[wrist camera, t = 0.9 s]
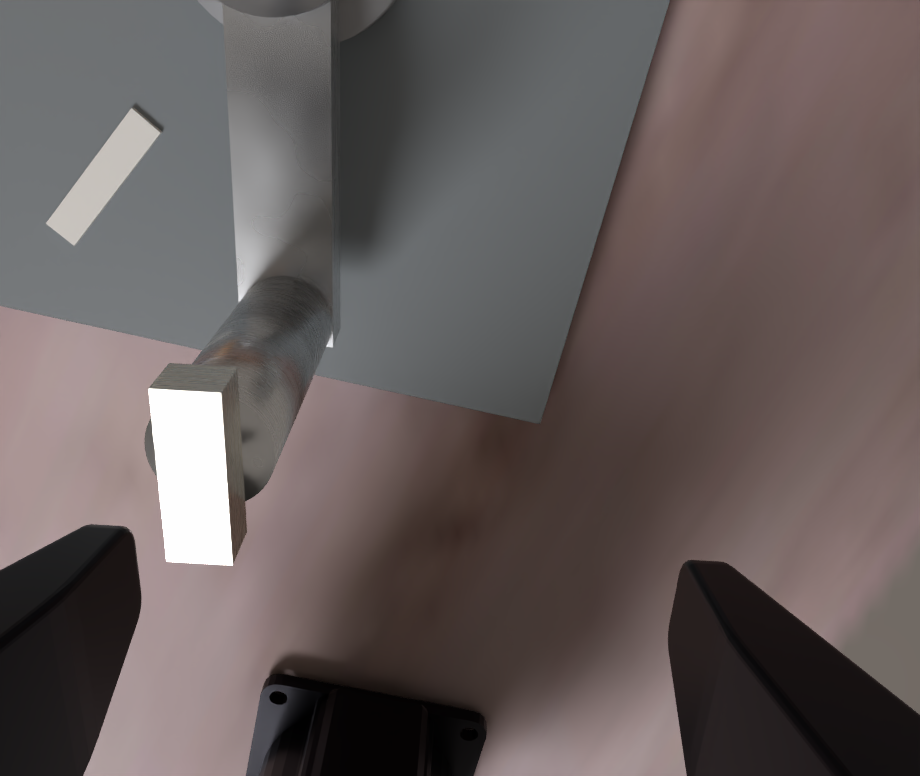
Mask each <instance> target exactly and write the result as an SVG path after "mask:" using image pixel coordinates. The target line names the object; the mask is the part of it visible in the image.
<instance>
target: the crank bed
mask: <svg viewBox="0 0 920 776" xmlns="http://www.w3.org/2000/svg"><path fill="white" fill-rule="evenodd" d="M669 2H670V0H339V4H340V331H339V334H338V336H337V339H336V341H335V344H334V346H333V347H326V349H325V351H324V353H323V356H322V358H321V360H320V363H319V365H318V367H317V370H316V372H315V375H318V376H322V377H327V378H332V379H336V380H341V381H345V382H350V383H354V384H359V385H363V386H368V387H373V388H377V389H382V390H386V391H391V392H395V393H400V394H404V395H409V396H414V397H418V398H423V399H427V400H432V401H436V402H441V403H445V404H450V405H455V406H459V407H464V408H468V409H473V410H477V411H482V412H487V413H491V414H496V415H500V416H505V417H509V418H514V419H518V420H523V421H528V422H532V423H537V424H540V422H541V419H542V416H543V413H544V409H545V406H546V403H547V400H548V396H549V393H550V390H551V387H552V383H553V380H554V377H555V373H556V370H557V367H558V364H559V360H560V357H561V354H562V351H563V347H564V344H565V341H566V338H567V334H568V331H569V328H570V325H571V321H572V318H573V315H574V312H575V308H576V305H577V302H578V298H579V295H580V292H581V289H582V285H583V282H584V279H585V276H586V272H587V269H588V266H589V263H590V259H591V256H592V253H593V250H594V246H595V243H596V240H597V237H598V233H599V230H600V227H601V223H602V220H603V217H604V214H605V210H606V207H607V204H608V201H609V197H610V194H611V191H612V188H613V184H614V181H615V178H616V175H617V171H618V168H619V165H620V162H621V158H622V155H623V152H624V148H625V145H626V142H627V139H628V135H629V132H630V129H631V126H632V122H633V119H634V116H635V113H636V109H637V106H638V103H639V100H640V96H641V93H642V90H643V87H644V83H645V80H646V77H647V73H648V70H649V67H650V64H651V60H652V57H653V54H654V51H655V47H656V44H657V41H658V38H659V34H660V31H661V28H662V25H663V21H664V18H665V15H666V12H667V8H668V5H669ZM238 303H239V300H238V282H237V263H236V245H235V227H234V209H233V190H232V172H231V154H230V136H229V117H228V99H227V81H226V63H225V44H224V26H223V8H222V3H221V2H219V1H218V0H0V306H3V307H8V308H12V309H17V310H21V311H26V312H31V313H35V314H40V315H44V316H49V317H53V318H58V319H63V320H67V321H72V322H76V323H81V324H85V325H90V326H94V327H99V328H104V329H108V330H113V331H117V332H122V333H126V334H131V335H135V336H140V337H145V338H149V339H154V340H158V341H163V342H167V343H172V344H176V345H181V346H186V347H190V348H195V349H199V350H203V349H204V348H205V346H206V345H207V344H208V343H209V341H210V340H211V339H212V337H213V336H214V335H215V333H216V332H217V331H218V329H219V328H220V327H221V326H222V324H223V323H224V322H225V320H226V319H227V318H228V316H229V315H230V314H231V312H232V311H233V310H234V309H235V307H236V306H237V305H238Z"/></svg>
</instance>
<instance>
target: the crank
mask: <svg viewBox="0 0 920 776" xmlns="http://www.w3.org/2000/svg"><path fill="white" fill-rule="evenodd" d="M218 1H219V2H221V3H222V8H223V26H224V44H225V63H226V81H227V99H228V117H229V136H230V154H231V172H232V190H233V209H234V227H235V245H236V263H237V282H238V300H239V303H238V305H237V306H236V307H235V309H234V310H233V311H232V312H231V314H230V315H229V316H228V318H227V319H226V320H225V322H224V323H223V324H222V326H221V327H220V328H219V329H218V331H217V332H216V333H215V335H214V336H213V337H212V339H211V340H210V341H209V343H208V344H207V345H206V346H205V348H204V349H203V350H202V352H201V353H200V354H199V356H198V357H197V358H196V360H195V361H194V362H193V363H192V365H191V364H174V363H169V364H168V365H167V367H166V368H165V369H164V370H163V372H162V373H161V374H160V375H159V376H158V378H157V379H156V380H155V381H154V382H153V384H152V385H151V386H150V387H149V388H148V390H149V399H150V409H151V419H150V421H149V423H148V426H147V429H146V433H145V451H146V456H147V459H148V462H149V464H150V466H151V468H152V470H153V472H154V473H155V475H156V476H157V477H158V485H159V494H160V504H161V513H162V523H163V532H164V542H165V551H166V561H167V562H184V563H201V564H218V565H233V563H234V561H235V559H236V556H237V554H238V552H239V549H240V547H241V545H242V542H243V540H244V538H245V535H246V533H247V525H246V507H245V501H247V500H249V499H250V498H252V497H254V496H255V495H256V494H258V493H259V492H260V491H261V490H262V489H263V488H264V487H265V485H266V484H267V483H268V481H269V479H270V477H271V475H272V473H273V470H274V468H275V466H276V463H277V461H278V459H279V456H280V454H281V452H282V449H283V447H284V445H285V442H286V440H287V438H288V435H289V433H290V431H291V428H292V426H293V424H294V421H295V419H296V417H297V414H298V412H299V410H300V407H301V405H302V403H303V400H304V398H305V396H306V393H307V391H308V389H309V386H310V384H311V382H312V379H313V377H314V375H315V372H316V370H317V367H318V365H319V363H320V360H321V358H322V356H323V353H324V351H325V349H326V347H333V346H334V344H335V341H336V339H337V336H338V334H339V331H340V4H339V0H218Z"/></svg>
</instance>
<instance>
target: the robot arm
mask: <svg viewBox="0 0 920 776" xmlns="http://www.w3.org/2000/svg"><path fill="white" fill-rule="evenodd" d="M140 609H141V588H140V579H139V571H138V563H137V554H136V546H135V540H134V536H133V534H132V532H131V531H130V530H129V529H128V528H127V527H124V526H110V525H93V524H91V525H86V526H83V527H81V528H79V529H77V530H76V531H74V532H72V533H70V534H68V535H66V536H64V537H62V538H60V539H59V540H57V541H55V542H53V543H51V544H49V545H47V546H45V547H43V548H42V549H40V550H38V551H36V552H34V553H32V554H30V555H28V556H26V557H25V558H23V559H21V560H19V561H17V562H15V563H13V564H11V565H9V566H8V567H6V568H4V569H2V570H0V776H83V774H84V772H85V770H86V768H87V765H88V763H89V761H90V758H91V756H92V753H93V750H94V747H95V745H96V742H97V739H98V737H99V734H100V731H101V728H102V725H103V722H104V719H105V716H106V713H107V710H108V707H109V704H110V701H111V698H112V696H113V693H114V690H115V687H116V684H117V681H118V678H119V675H120V672H121V669H122V666H123V663H124V660H125V657H126V654H127V651H128V649H129V646H130V643H131V640H132V637H133V634H134V631H135V628H136V625H137V622H138V619H139V614H140ZM668 649H669V657H670V664H671V671H672V678H673V684H674V691H675V698H676V705H677V712H678V719H679V726H680V732H681V739H682V746H683V753H684V760H685V767H686V773H687V776H920V715H919V714H918V713H917V712H916V711H914V710H913V709H912V708H911V707H909V706H908V705H907V704H905V703H904V702H903V701H902V700H900V699H899V698H898V697H897V696H895V695H894V694H893V693H892V692H890V691H889V690H888V689H886V688H885V687H884V686H883V685H881V684H880V683H879V682H878V681H876V680H875V679H874V678H872V677H871V676H870V675H869V674H867V673H866V672H865V671H864V670H862V669H861V668H860V667H859V666H857V665H856V664H855V663H854V662H852V661H851V660H850V659H849V658H847V657H846V656H845V655H843V654H842V653H841V652H840V651H838V650H837V649H836V648H835V647H833V646H832V645H831V644H830V643H828V642H827V641H826V640H824V639H823V638H822V637H821V636H819V635H818V634H817V633H816V632H814V631H813V630H812V629H811V628H809V627H808V626H807V625H805V624H804V623H803V622H802V621H800V620H799V619H798V618H797V617H795V616H794V615H793V614H792V613H790V612H789V611H788V610H786V609H785V608H784V607H783V606H781V605H780V604H779V603H778V602H776V601H775V600H774V599H773V598H771V597H770V596H769V595H767V594H766V593H765V592H764V591H762V590H761V589H760V588H759V587H757V586H756V585H755V584H754V583H752V582H751V581H750V580H748V579H747V578H746V577H745V576H743V575H742V574H741V573H740V572H738V571H737V570H736V569H735V568H733V567H732V566H730V565H729V564H727V563H725V562H718V561H699V560H688V561H687V562H685V563H684V564H683V566H682V568H681V570H680V573H679V578H678V583H677V588H676V593H675V598H674V603H673V608H672V613H671V618H670V623H669V631H668ZM275 691H280V692H283V693H285V694H278V693H276V692H275ZM465 728H473V730H466V729H465ZM485 740H486V720H485V718H484V716H482V715H481V714H480V713H478V712H475V711H471V710H466V709H461V708H456V707H451V706H445V705H440V704H435V703H430V702H424V701H419V700H414V699H409V698H404V697H398V696H393V695H388V694H383V693H378V692H372V691H367V690H362V689H357V688H352V687H346V686H341V685H336V684H331V683H326V682H320V681H315V680H310V679H305V678H300V677H294V676H289V675H284V674H276V675H272V676H270V677H269V678H267V679H266V681H265V683H264V685H263V689H262V692H261V695H260V701H259V707H258V712H257V718H256V723H255V729H254V734H253V740H252V745H251V751H250V756H249V762H248V768H247V773H246V776H473V775H474V772H475V769H476V766H477V763H478V760H479V757H480V754H481V751H482V748H483V745H484V742H485Z"/></svg>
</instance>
